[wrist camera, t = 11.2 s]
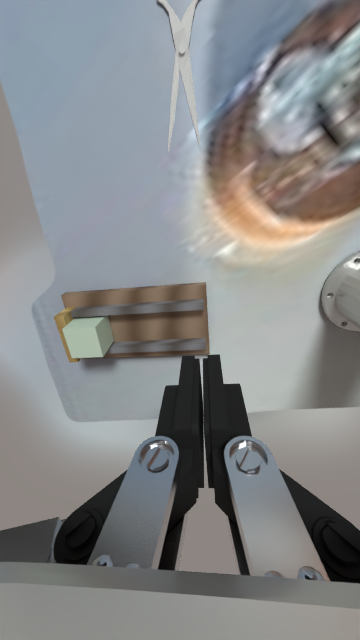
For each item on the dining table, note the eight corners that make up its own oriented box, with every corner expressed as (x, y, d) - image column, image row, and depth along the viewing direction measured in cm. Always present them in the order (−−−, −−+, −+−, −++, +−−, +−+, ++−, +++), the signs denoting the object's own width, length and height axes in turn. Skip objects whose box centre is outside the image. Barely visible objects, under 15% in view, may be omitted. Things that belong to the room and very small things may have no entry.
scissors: (233, -128, 21) (227, 148, 29) (232, -117, 21) (226, 149, 29) (116, -105, 22) (142, 155, 30) (119, -95, 22) (143, 156, 31)
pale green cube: (107, 313, 38) (95, 327, 34) (114, 340, 40) (103, 357, 36) (78, 315, 39) (62, 329, 34) (86, 341, 41) (71, 358, 36)
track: (205, 282, 36) (206, 293, 31) (209, 349, 41) (210, 367, 36) (65, 292, 39) (46, 304, 34) (84, 354, 44) (70, 372, 39)
